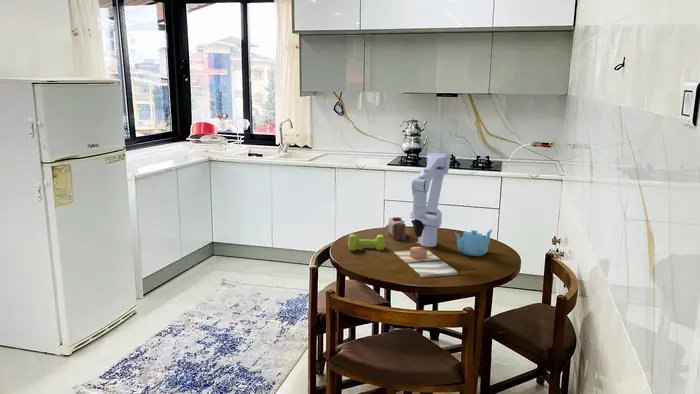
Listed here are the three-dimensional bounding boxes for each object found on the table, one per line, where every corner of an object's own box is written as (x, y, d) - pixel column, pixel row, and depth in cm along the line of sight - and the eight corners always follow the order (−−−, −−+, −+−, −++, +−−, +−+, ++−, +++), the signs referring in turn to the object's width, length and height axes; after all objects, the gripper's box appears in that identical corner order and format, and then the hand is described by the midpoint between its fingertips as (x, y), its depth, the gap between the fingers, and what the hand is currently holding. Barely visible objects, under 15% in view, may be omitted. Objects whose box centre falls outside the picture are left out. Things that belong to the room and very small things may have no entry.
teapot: (460, 246, 243) (462, 225, 241) (493, 250, 237) (495, 229, 235) (453, 254, 230) (454, 232, 228) (487, 259, 224) (488, 236, 222)
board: (393, 253, 230) (393, 251, 229) (426, 251, 234) (426, 249, 234) (420, 277, 200) (420, 275, 200) (458, 274, 204) (458, 272, 204)
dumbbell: (347, 252, 231) (348, 237, 229) (348, 247, 239) (348, 232, 237) (384, 253, 230) (385, 237, 229) (384, 248, 238) (384, 233, 237)
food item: (386, 232, 264) (387, 213, 262) (402, 232, 265) (402, 213, 263) (391, 240, 251) (392, 220, 249) (407, 240, 252) (408, 220, 250)
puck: (407, 255, 225) (408, 247, 224) (422, 254, 227) (423, 246, 226) (413, 260, 218) (414, 252, 218) (429, 258, 220) (429, 251, 219)
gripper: (404, 203, 230) (403, 232, 232) (417, 210, 216) (416, 241, 219) (419, 202, 231) (418, 231, 234) (433, 209, 218) (431, 240, 221)
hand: (418, 236), depth 227 cm, fingers closed
